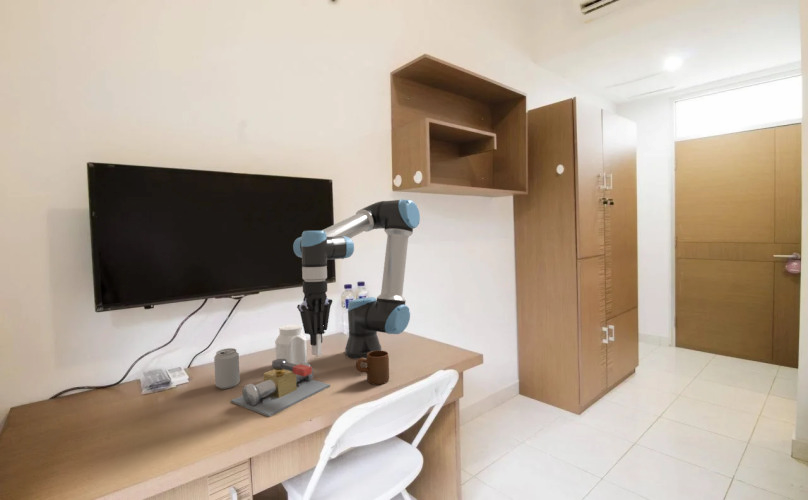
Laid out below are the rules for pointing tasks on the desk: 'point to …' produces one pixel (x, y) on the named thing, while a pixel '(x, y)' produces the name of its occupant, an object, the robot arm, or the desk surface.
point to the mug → (375, 367)
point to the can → (227, 368)
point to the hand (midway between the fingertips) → (316, 354)
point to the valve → (274, 385)
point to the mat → (284, 398)
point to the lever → (291, 367)
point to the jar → (291, 344)
